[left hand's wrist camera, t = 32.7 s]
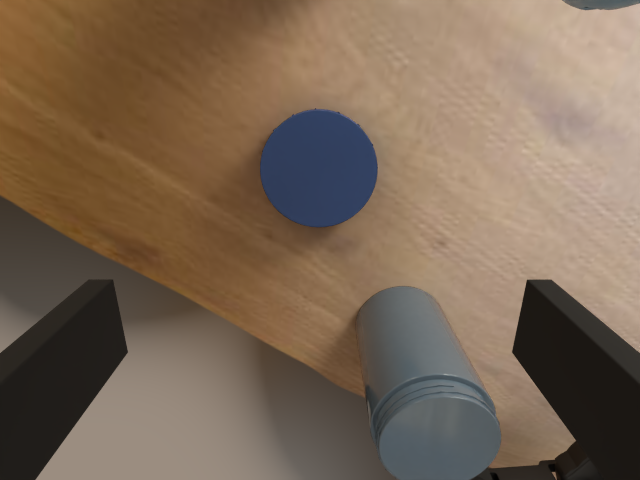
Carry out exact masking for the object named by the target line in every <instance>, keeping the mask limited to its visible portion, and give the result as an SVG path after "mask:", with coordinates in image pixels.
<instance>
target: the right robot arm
mask: <svg viewBox="0 0 640 480" xmlns="http://www.w3.org/2000/svg"><path fill="white" fill-rule="evenodd" d="M552 472H555V473H556V477H557V480H605V479H604V478H603V477H602V475H601V474H600V473H599V471H598V470H597V468H596V467H595V466H594V464H593V463H592V462H591V460H590V459H589V457H588V456H587V455H586V453H585V452H584V451H583V449H582V448H581V446H580V445H579V444H578V442H577V441H576V442H574V443H573V444H572V445H571V446H570V447H569V448H568V450H567V451H566V452H564V453H562V454H560V455H559V456H557V457H556V458H555V460H545V461H540V462H539V465H534V466H520V467H506V468H492V469H488V468H486V469H485V470H484V471H483V472H481V473H480V474H479V475H477V476H476V477H474V478H472V479H470V480H556V479H555V477H554V476H553V474H552Z"/></svg>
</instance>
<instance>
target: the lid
mask: <svg viewBox="0 0 640 480" xmlns="http://www.w3.org/2000/svg"><path fill="white" fill-rule="evenodd" d="M273 131H274V132H273V133H272V134H271V136H270V137H269V139H268V141H267V143H266V145H265V147H264V150H263V151H262V152H263V153H262V157H261V163H260V175H261V181H262V185H263V188H264V190H265V193H266V195H267V197H268V199H269V200H270V202H271V203H272V204H273V206H274V207H275V208H276V209H277V210H278V211H279V212H280V213H281V214H283V215H284V216H285V217H287V218H288V219H290V220H292V221H294V222H296V223H299V224H302V225H305V226H310V227H327V226H333V225H336V224H339V223H342V222H344V221H346V220H348V219H349V218H351V217H353V216H354V215H355V214H356V213H358V212H359V211H360V210H361V209H362V208H363V207H364V205H365V204H366V203H367V201H368V200H369V198H370V196H371V194H372V192H373V189H374V187H375V183H376V179H377V168H378V167H377V159H376V155H375V151H374V148H373V144H372V143H371V142H370V140H369V138H368V136H367V135H366V134H365V132H364V131H363V130H362V129H361V128H360V125H358V124H356V123H355V122H354V121H352V120H351V119H349V118H348V117H346V116H344V115H342V114H340V113H339V112H338V113H337V112H335V111H330V110H323V109H316V108H315V109H314V110H307V111H303V112H300V113H297V114H295V115H294V114H293V115H292V116H291V117H290V118H288V119H287V120H285V121H284V122H283V123H282V124H281V125H280V126H278V127H277V128H275V129H274V130H273Z"/></svg>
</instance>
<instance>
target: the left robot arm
mask: <svg viewBox="0 0 640 480" xmlns="http://www.w3.org/2000/svg"><path fill="white" fill-rule="evenodd" d="M563 1H564V2H565V3H567V4H569V5H570V6H573V7H576V8H579V9H582V10H593V9H600V10H601V9H605V10H613V9H619V8H623V7H628V6H631V5H635V4H638V3H640V0H563ZM127 353H128V351H127V346H126V341H125V336H124V331H123V326H122V321H121V317H120V312H119V307H118V302H117V297H116V292H115V287H114V283H113V280H88V281H87V282H85V283H84V284H83V285H82V286H81V287H79V288H78V289H77V290H76V291H75V292H73V293H72V294H71V295H70V296H68V297H67V298H66V299H65V300H64V301H63V302H61V303H60V304H59V305H58V306H56V307H55V308H54V309H53V310H52V311H50V312H49V313H48V314H47V315H46V316H44V317H43V318H42V319H41V320H40V321H38V322H37V323H36V324H35V325H34V326H32V327H31V328H30V329H29V330H28V331H26V332H25V333H24V334H23V335H22V336H20V337H19V338H18V339H17V340H16V341H14V342H13V343H12V344H11V345H10V346H8V347H7V348H6V349H5V350H4V351H2V352H1V353H0V480H35V479H36V478H37V477H38V475H39V474H40V472H41V471H42V470H43V468H44V467H45V466H46V464H47V463H48V462H49V460H50V459H51V457H52V456H53V455H54V453H55V452H56V451H57V449H58V448H59V446H60V445H61V444H62V442H63V441H64V439H65V438H66V437H67V435H68V434H69V433H70V431H71V430H72V428H73V427H74V426H75V424H76V423H77V422H78V420H79V419H80V417H81V416H82V415H83V413H84V412H85V411H86V409H87V408H88V406H89V405H90V404H91V402H92V401H93V400H94V398H95V397H96V395H97V394H98V393H99V391H100V390H101V389H102V387H103V386H104V384H105V383H106V382H107V380H108V379H109V378H110V376H111V375H112V373H113V372H114V371H115V369H116V368H117V366H118V365H119V364H120V362H121V361H122V360H123V358H124V357H125V355H126V354H127ZM512 353H513V354H514V355H515V357H516V358H517V360H518V361H519V362H520V364H521V365H522V366H523V368H524V369H525V371H526V372H527V373H528V375H529V376H530V378H531V379H532V380H533V382H534V383H535V384H536V386H537V387H538V389H539V390H540V391H541V393H542V394H543V395H544V397H545V398H546V400H547V401H548V402H549V404H550V405H551V406H552V408H553V409H554V411H555V412H556V413H557V415H558V416H559V417H560V419H561V420H562V422H563V423H564V424H565V426H566V427H567V428H568V430H569V431H570V433H571V434H572V435H573V437H574V438H575V440H576V441H577V442H578V444H579V445H580V446H581V448H582V449H583V451H584V452H585V453H586V455H587V456H588V457H589V459H590V460H591V462H592V463H593V464H594V466H595V467H596V468H597V470H598V471H599V473H600V474H601V475H602V477H603V478H604V479H605V480H640V353H639V352H638V351H636V350H635V349H634V348H633V347H632V346H630V345H629V344H628V343H627V342H626V341H624V340H623V339H622V338H621V337H620V336H618V335H617V334H616V333H615V332H614V331H612V330H611V329H610V328H609V327H608V326H606V325H605V324H604V323H603V322H602V321H600V320H599V319H598V318H597V317H596V316H594V315H593V314H592V313H591V312H590V311H588V310H587V309H586V308H585V307H584V306H582V305H581V304H580V303H579V302H578V301H576V300H575V299H574V298H573V297H572V296H570V295H569V294H568V293H567V292H565V291H564V290H563V289H562V288H561V287H559V286H558V285H557V284H556V283H555V282H553V281H552V280H527V283H526V287H525V292H524V297H523V302H522V307H521V312H520V317H519V321H518V326H517V331H516V336H515V341H514V346H513V351H512Z"/></svg>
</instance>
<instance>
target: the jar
mask: <svg viewBox="0 0 640 480" xmlns="http://www.w3.org/2000/svg"><path fill="white" fill-rule="evenodd" d="M356 336H357V343H358V350H359V356H360V363H361V370H362V377H363V384H364V390H365V397H366V404H367V411H368V418H369V424H370V431H371V436H372V439H373V442H374V444H375V446H376V447H377V451H378V456H379V459H380V461H381V463H382V464H383V466H384V467H385V469H386V470H387V471H388V472H389V473H390V474H392V475H393V476H394V477H395V478H396V479H398V480H470V479H472V478H474V477H476V476H477V475H479V474H480V473H481V472H483V471H484V470H485V469H486V468H487V467H488V466H489V465H490V464H491V463H492V461H493V460H494V459H495V457H496V455H497V453H498V450H499V448H500V443H501V432H500V427H499V421H498V419H497V417H496V411H495V407H494V404H493V401H492V399H491V398H490V396H489V394H488V392H487V390H486V389H485V387H484V385H483V383H482V381H481V379H480V378H479V376H478V374H477V372H476V370H475V369H474V367H473V365H472V363H471V361H470V359H469V358H468V356H467V354H466V352H465V350H464V349H463V347H462V345H461V343H460V341H459V339H458V338H457V336H456V334H455V332H454V330H453V329H452V327H451V325H450V323H449V321H448V319H447V318H446V316H445V314H444V312H443V310H442V309H441V307H440V305H439V303H438V302H437V301H436V300H435V299H434V298H433V297H432V296H431V295H430V294H428V293H427V292H425V291H423V290H420V289H417V288H413V287H406V286H399V287H392V288H388V289H385V290H383V291H380V292H378V293H377V294H375V295H374V296H372V297H371V298H370V299H369V300H367V301H366V303H365V304H364V305H363V306H362V308H361V309H360V311H359V313H358V316H357V319H356Z"/></svg>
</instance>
